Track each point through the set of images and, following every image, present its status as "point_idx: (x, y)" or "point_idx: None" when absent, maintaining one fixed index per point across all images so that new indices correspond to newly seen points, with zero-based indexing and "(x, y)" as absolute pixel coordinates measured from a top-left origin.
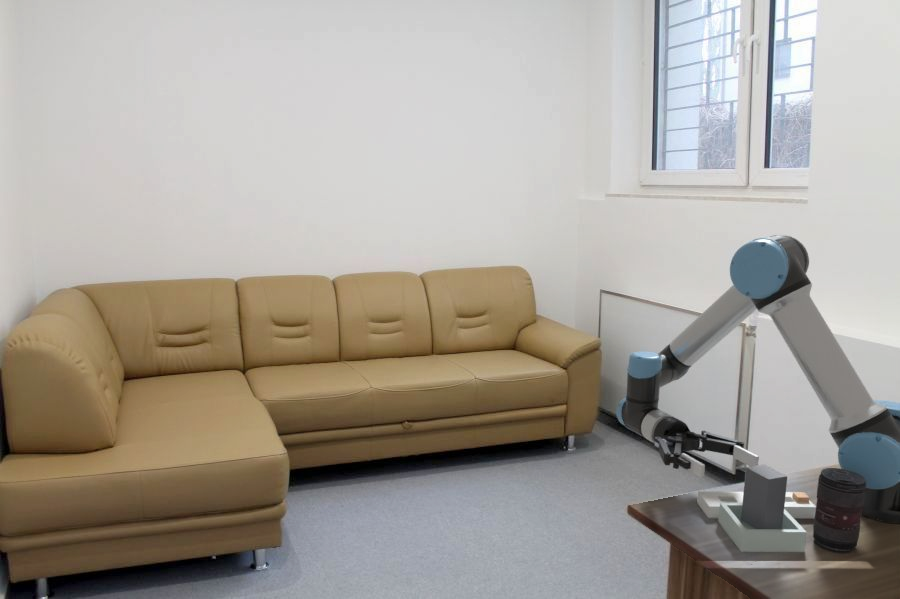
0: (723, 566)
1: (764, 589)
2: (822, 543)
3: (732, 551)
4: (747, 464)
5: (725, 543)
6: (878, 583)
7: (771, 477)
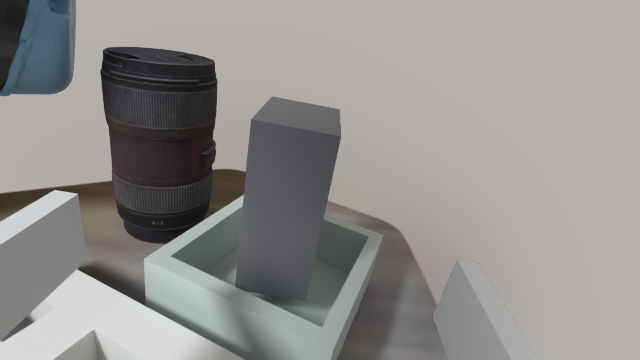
0: (425, 280)
1: (393, 226)
2: (208, 207)
3: (372, 301)
4: (38, 300)
5: (365, 330)
6: (228, 175)
7: (322, 107)
